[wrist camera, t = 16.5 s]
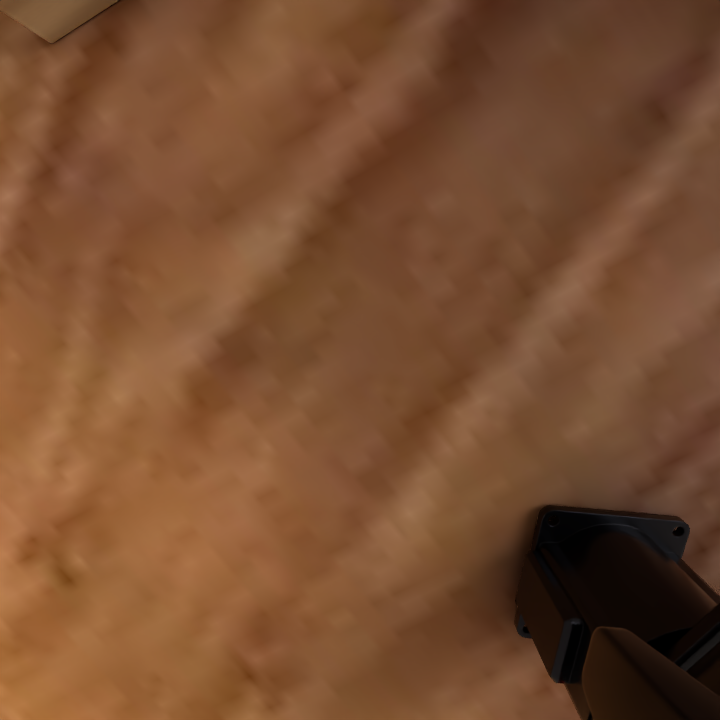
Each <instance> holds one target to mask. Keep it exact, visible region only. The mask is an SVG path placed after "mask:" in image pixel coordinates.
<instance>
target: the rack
mask: <svg viewBox="0 0 720 720" xmlns="http://www.w3.org/2000/svg"><path fill="white" fill-rule="evenodd" d="M117 1H118V0H0V11H1V12H3V13H4V14H6V15H7V16H9V17H10V18H12V19H14V20H15V21H17V22H18V23H20V24H21V25H23V26H24V27H26V28H27V29H29V30H31V31H32V32H34V33H35V34H37V35H38V36H40V37H41V38H43V39H44V40H46V41H47V42H49V43H54V42H55V41H57V40H58V39H60V38H62V37H63V36H65V35H66V34H68V33H69V32H71V31H72V30H74V29H75V28H77V27H78V26H80V25H82V24H83V23H85V22H86V21H88V20H89V19H91V18H92V17H94V16H95V15H97V14H98V13H100V12H101V11H103V10H105V9H106V8H108V7H109V6H111V5H112V4H114V3H115V2H117Z"/></svg>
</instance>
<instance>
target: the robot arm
mask: <svg viewBox="0 0 720 720" xmlns="http://www.w3.org/2000/svg"><path fill="white" fill-rule="evenodd" d="M554 515H555V518H554V519H553V520H551V521H548V519H549V517H551V516H554ZM676 527H678V528H677V529H676V530H675V531H673V530H674V528H676ZM689 532H690V528H689V525H688V524H686V523H685V522H684V521H683V520H682V519H681V518H679V517H676V516H667V515H656V514H645V513H633V512H622V511H611V510H600V509H589V508H578V507H566V506H555V505H549V506H546V507H544V508H543V509H542V510H540V512H539V515H538V519H537V524H536V528H535V532H534V537H533V541H532V546H531V550H530V551H529V552H528V553H527V554H526V555H525V559H524V564H523V568H522V573H521V577H520V582H519V586H518V591H517V595H516V600H515V601H516V604H517V606H518V607H517V612H516V616H515V621H514V625H515V627H516V629H517V632H518V634H519V635H520V636H522V637H525V638H532V639H533V641H534V643H535V646H536V648H537V650H538V652H539V654H540V657H541V659H542V661H543V663H544V665H545V667H546V670H547V672H548V674H549V676H550V677H551V678H552V679H553V681H554V682H555V683H564V685H565V687H566V689H567V691H568V693H569V695H570V697H571V699H572V702H573V704H574V706H575V708H576V710H577V712H578V714H579V716H580V718H581V720H720V596H719V595H718V594H717V593H716V592H715V591H714V590H713V589H712V588H711V587H710V586H709V585H708V584H707V583H706V582H705V581H704V580H703V579H701V578H700V577H699V576H698V575H697V574H696V573H695V572H694V571H693V570H692V569H691V568H690V567H689V566H688V565H687V564H686V563H685V562H684V561H683V560H682V559H681V558H682V555H683V552H684V549H685V545H686V542H687V539H688V536H689ZM524 625H526V626H524Z"/></svg>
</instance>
